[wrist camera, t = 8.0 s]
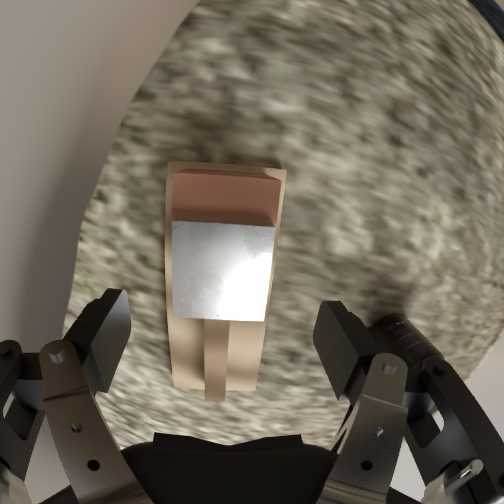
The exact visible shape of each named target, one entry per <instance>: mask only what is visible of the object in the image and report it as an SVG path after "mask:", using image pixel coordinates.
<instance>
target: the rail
mask: <svg viewBox="0 0 504 504" xmlns="http://www.w3.org/2000/svg"><path fill="white" fill-rule="evenodd" d="M286 171H287V170H284V169H276V168H267V167H258V166H247V165H235V164H222V163H205V162H183V161H168V162H167V178H166V201H165V280H166V303H167V319H168V332H169V344H170V355H171V364H172V373H173V381H174V387H177V388H189V389H205V401H225V390H255V389H256V383H257V377H258V371H259V365H260V359H261V353H262V346H263V340H264V334H265V327H266V321H267V314H268V307H269V301H270V294H271V287H272V280H273V273H274V266H275V258H276V251H277V243H278V236H279V228H280V220H281V212H282V204H283V196H284V188H285V179H286ZM175 217H182V218H200V219H217V220H233V221H247V222H261V223H273V224H274V225H275V227H276V232H275V240H274V247H273V255H272V263H271V270H270V278H269V285H268V292H267V299H266V306H265V313H264V320H263V321H247V320H219V319H200V318H185V317H174V316H173V292H172V220H173V219H174V218H175Z"/></svg>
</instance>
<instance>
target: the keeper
mask: <svg viewBox="0 0 504 504" xmlns="http://www.w3.org/2000/svg"><path fill="white" fill-rule="evenodd" d="M275 232H276V227H275V225H274V224H273V223H261V222H247V221H233V220H217V219H200V218H182V217H175V218H174V219H173V220H172V292H173V316H174V317H185V318H200V319H219V320H247V321H263V320H264V313H265V306H266V299H267V292H268V285H269V278H270V270H271V263H272V255H273V247H274V240H275Z"/></svg>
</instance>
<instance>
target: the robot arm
mask: <svg viewBox="0 0 504 504" xmlns="http://www.w3.org/2000/svg"><path fill="white" fill-rule="evenodd" d="M130 333H131V318H130V311H129V304H128V297H127V292H126V290H122V289H112V288H108V289H107V290H106V291H105V292H104V294H103V295H102V297H101V298H100V299H95V300H93V301H92V302H90V303H89V304H87V305H86V307H85V308H84V309H83V311H82V314H81V313H80V315H79V316H78V318H77V320H75V322H74V323H73V325H72V326H71V328H70V329H69V330H68V332H67V333H66V335H65V336H64V338H63V339H62V340H54V341H51V342H49V343H47V344H45V345H44V346H43V347H42V349H41V350H40V352H39V353H23V351H22V348H21V346H20V344H19V343H18V342H16V341H14V340H5V341H3V342H0V504H32V502H31V499H30V497H29V494H28V490H27V488H26V486H25V484H24V480H25V476H26V472H27V468H28V465H29V461H30V458H31V455H32V451H33V448H34V445H35V442H36V439H37V436H38V433H39V430H40V427H41V425H42V422H43V419H44V416H45V414H46V417H47V420H48V424H49V427H50V430H51V434H52V437H53V440H54V443H55V446H56V449H57V452H58V455H59V457H60V460H61V462H62V465H63V468H64V470H65V473H66V475H67V477H68V479H69V482H70V484H71V485H69V486H67V487H66V488H65V489H63V490H61V491H60V492H58V493H56V494H55V495H53V496H51V497H50V498H48V499H46V500H44V501H43V502H41V503H39V504H499V503H501V502H502V501H503V500H504V442H503V441H502V439H501V437H500V436H499V434H498V432H497V431H496V429H495V428H494V426H493V425H492V423H491V421H490V420H489V418H488V417H487V415H486V414H485V412H484V411H483V409H482V408H481V406H480V405H479V403H478V402H477V400H476V399H475V397H474V396H473V395H472V393H471V392H470V390H469V389H468V388H467V386H466V385H465V383H464V382H463V381H462V379H461V378H460V377H459V375H458V374H457V373H456V371H455V370H454V369H453V367H452V366H451V365H450V364H449V363H448V362H446V361H445V360H442V359H440V358H430V359H428V360H427V361H426V363H425V364H424V366H423V368H412V367H407V365H406V363H405V362H404V361H403V360H402V359H401V358H400V357H398V356H396V355H394V354H390V353H384V352H383V350H382V349H381V347H380V346H379V345H378V343H377V342H376V340H375V339H374V337H373V336H372V335H371V334H370V332H369V330H368V329H367V328H365V325H364V323H363V322H362V321H361V319H360V318H359V317H357V316H356V315H355V314H353V313H352V312H348V310H347V309H346V308H345V306H344V305H343V303H342V302H341V301H323V302H322V303H321V305H320V309H319V313H318V316H317V320H316V324H315V328H314V332H313V342H314V346H315V348H316V350H317V352H318V355H319V357H320V359H321V362H322V364H323V366H324V369H325V371H326V374H327V376H328V378H329V381H330V383H331V385H332V388H333V390H334V392H335V395H336V397H337V400H338V401H341V400H347V399H349V401H350V405H349V407H348V409H347V411H346V413H345V416H344V418H343V420H342V422H341V424H340V427H339V429H338V431H337V433H336V435H335V437H334V439H333V441H332V443H331V445H330V447H329V448H328V449H325V448H323V447H319V446H316V445H311V444H304V443H303V441H302V438H301V434H299V435H289V436H276V437H265V438H261V439H257V440H253V441H249V442H244V443H240V444H235V445H222V444H218V443H214V442H210V441H206V440H202V439H199V438H195V437H191V436H183V435H173V434H164V433H157V432H154V438H153V441H152V442H144V443H139V444H135V445H132V446H129V447H127V448H124V449H123V450H121V449H120V447H119V445H118V444H117V442H116V440H115V438H114V436H113V434H112V433H111V431H110V429H109V427H108V425H107V423H106V421H105V419H104V417H103V415H102V413H101V410H100V408H99V406H98V404H97V402H96V399H95V395H96V393H97V391H100V392H104V393H108V390H109V387H110V384H111V382H112V379H113V376H114V374H115V371H116V369H117V366H118V364H119V361H120V359H121V356H122V354H123V351H124V349H125V346H126V344H127V341H128V339H129V337H130ZM10 393H12V395H13V396H14V400H13V401H12V403H11V406H10V408H9V410H8V412H7V414H6V416H5V419H4V417H3V408H4V405H5V403H6V401H7V399H8V397H9V395H10ZM434 405H436V407H437V409H438V410H439V412H440V414H441V415H442V417H443V419H444V427H443V430H442V431H440V429H439V427H438V426H437V424H436V422H435V420H434V418H433V417H432V415H431V413H430V410H431V409H432V408H433V407H434ZM403 435H404V437H405V439H406V442H407V444H408V446H409V448H410V451H411V453H412V455H413V458H414V460H415V462H416V465H417V467H418V469H419V472H420V474H421V476H422V479H423V481H424V484H425V487H426V489H425V492H424V497H423V498H422V499H421V502H419V501H416V500H415V499H413V498H411V497H409V496H407V495H404V494H403V493H401V492H399V491H397V490H395V489H393V488H392V487H390V483H391V480H392V477H393V474H394V470H395V467H396V463H397V460H398V456H399V452H400V448H401V444H402V439H403Z"/></svg>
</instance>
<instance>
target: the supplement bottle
mask: <svg viewBox="0 0 504 504" xmlns="http://www.w3.org/2000/svg"><path fill="white" fill-rule="evenodd" d="M369 332H370V334H371V335H372V336H373V337H374V339H375V340H376V342H377V343H378V345H379V346H380V347H381V349H382V350H383V352H384V353H390V354H394V355H396V356H398V357H400V358H401V359H402V360H403V361H404V362H405V363H406V365H407V367H412V368H423V366H424V364H425V363H426V361H427V360H428V359H430V358H440V359H442V360H445V359H444V356H443V355H442V354H441V352H440V351H439V350H438V349H437V348H436V347H435V346H434V345H433V344H432V343H431V342H430V341H429V340H428V339H427V338H426V337H425V336H424V335H423V334H422V333H421V332H420V331H419V330H418V329H417V328H416V327H415V326H414V325H413V324H412V323H411V322H410V321H408V320H407V319H406V318H405V317H404V316H402V315H397V314H395V315H389V316H386V317H384V318H382V319H381V320H379V321H378V322H376V323H375V324H374V325H373V326H372V327H371V328H370V330H369ZM437 410H438V409H437V407H436V405H434V407H433V408H432V409H431V410H430V413H431V414H433V413H434V412H436V411H437Z"/></svg>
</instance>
